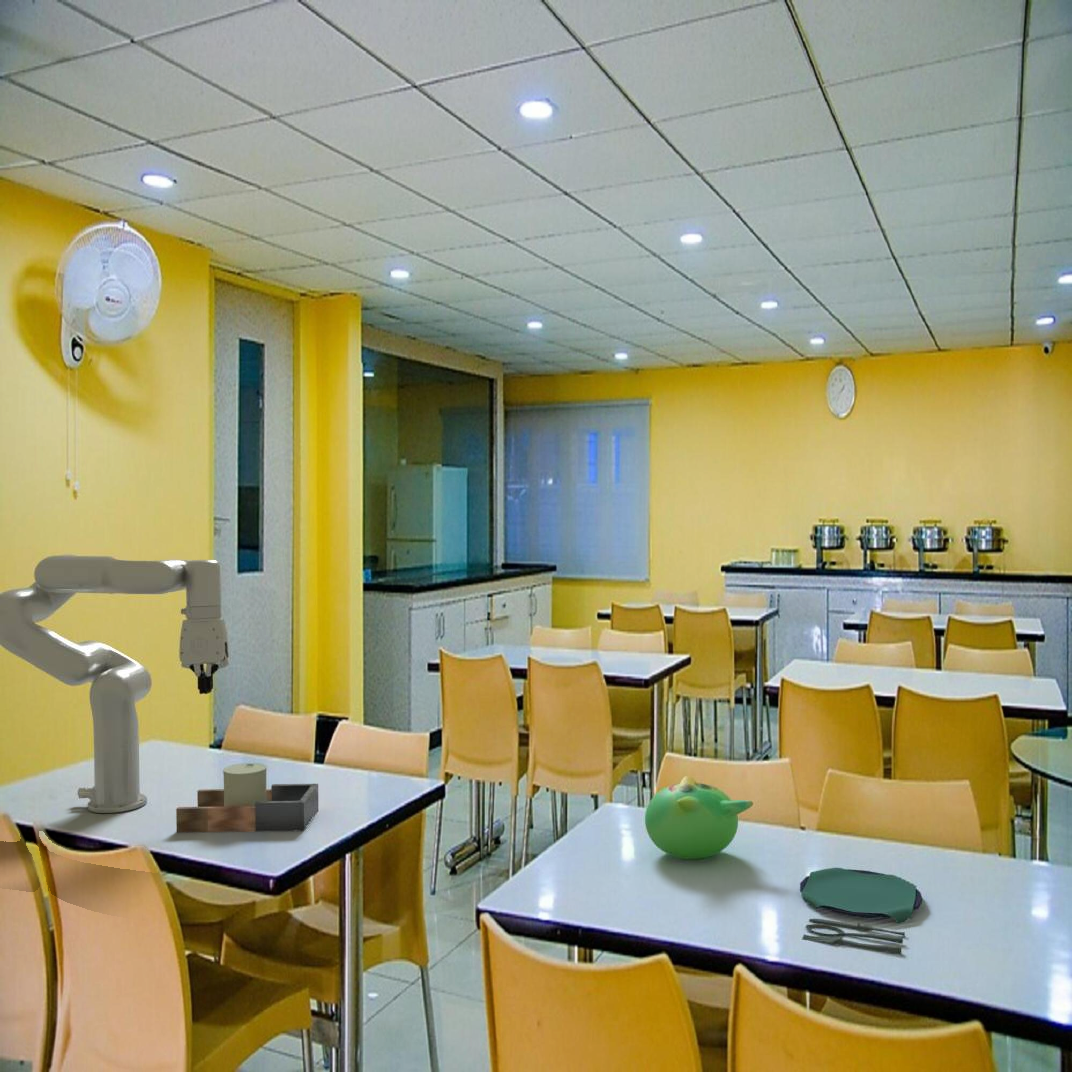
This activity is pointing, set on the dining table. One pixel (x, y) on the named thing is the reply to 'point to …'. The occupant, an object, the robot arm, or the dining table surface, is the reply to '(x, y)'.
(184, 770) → the dining table surface
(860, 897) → the cutlery set
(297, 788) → the box
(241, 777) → the can
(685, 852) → the toy bird
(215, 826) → the channel
